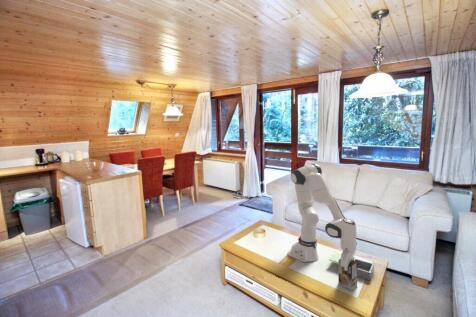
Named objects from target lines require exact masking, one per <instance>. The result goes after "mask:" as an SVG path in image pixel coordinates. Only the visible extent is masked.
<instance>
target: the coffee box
mask: <svg viewBox="0 0 476 317" xmlns="http://www.w3.org/2000/svg"><path fill="white" fill-rule="evenodd" d="M337 264H338V277H337V278H338V280H337V281H338V282H337V283H338V284H339V285H340V286H342V287H344V288H346V289H348V290H350V291H354V290H355V289H356V288H358V277H357V262H356V261H353V260H351V261H350V263H349V265H348V270H347V271H345V270H344V267H343V266H341V259H339V260H338V263H337Z"/></svg>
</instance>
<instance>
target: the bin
mask: <svg viewBox="0 0 476 317" xmlns="http://www.w3.org/2000/svg"><path fill="white" fill-rule="evenodd" d="M355 261H356V262H357V278H360V279H364V280H367V281H369V282H370V281H371V279H372V276H373V274H374V270H375V269H374V266H375V264H374V263H372V262H369V261H366V260H362V259H359V258H356V259H355Z"/></svg>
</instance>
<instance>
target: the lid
mask: <svg viewBox="0 0 476 317" xmlns="http://www.w3.org/2000/svg"><path fill="white" fill-rule="evenodd" d="M341 254H342V252H341V253H340V252H336V251H334V252H333V253H332V254H331V255H330V257H329V259H328V261H331V262H333V263H337V264H338V260H339V259H341ZM355 259H357V258H356V257H355V256H353V258H352V260H353V261H355Z"/></svg>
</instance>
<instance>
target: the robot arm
mask: <svg viewBox="0 0 476 317" xmlns="http://www.w3.org/2000/svg"><path fill="white" fill-rule="evenodd" d="M322 171H323V170H322V167H321V166H320V165H319V164H317V163H311V164H307V165H303V166H301V167H300V168H297V169H294V170H292V171H291V173H290V178H291V181H292V183H294V188H295V189H294V190H295V193H296V198H297V206H298V211H299V215H300V217H301V220H302V221H301V227H300V235H299V237H298V238H297V241H296V242H295V243H293V244H292V246H291V248H290V249H289V250H288V252H287V255H288V256H289V257H292V258H294V259H295V260H298V261H301V262H302V263H307V262H315V261H318V259H319V254H318V250H317V247H318V240H317V229H318V228H317V226H318V223H319V221H320V219H319V218H320V217H319V214H318V212H317V211H316V209H315V208H314V201H316V203H318V204H322V205H325V206H326V207H328V210H329V211H330V213H331V215H332V218H333V220H331V221H329V222H328V223H327V224H326V225H324V226H325V227H324V230H325V233H326V235H327V236H328V237H329V238H333V239H340V245H339V246H340V249H341V250H342V252H341V266H343V267H344V270H345V271H347V270H348V265H349V263H350V261H351V260H352V258H353V257H355V254H356V251H357V245H358V241H357V233H358V231H357V224H356V222H355V221H354V220H352V219H351V218H347V217H345V216H344V214H343V212H342V210H341V209H340V207H339V205H338V203H337V200H336V199H335V197H334V196H333V194H332V192H330V189H329V187H328V184H327V183H326V181H325V179H324V177H323V172H322Z"/></svg>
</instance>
